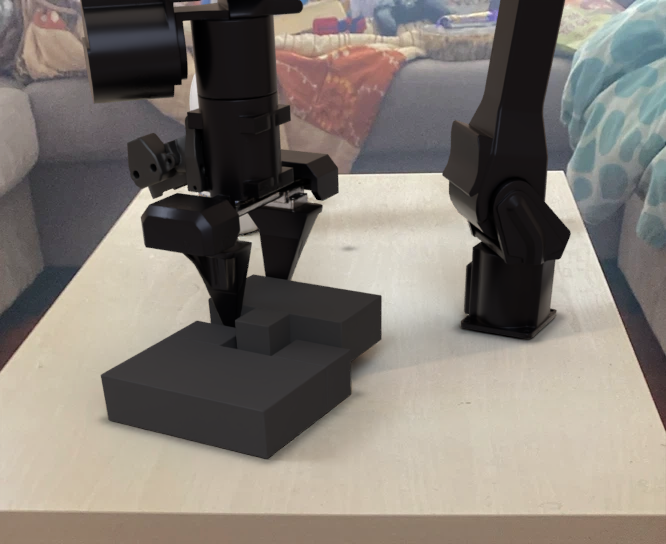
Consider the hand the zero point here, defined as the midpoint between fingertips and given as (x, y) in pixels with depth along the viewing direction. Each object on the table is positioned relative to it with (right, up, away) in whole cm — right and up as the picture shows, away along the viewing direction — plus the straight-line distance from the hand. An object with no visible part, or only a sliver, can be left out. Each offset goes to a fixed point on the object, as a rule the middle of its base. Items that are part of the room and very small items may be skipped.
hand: (254, 314), depth 84 cm
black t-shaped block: (+3, -3, -2) cm, 4 cm away
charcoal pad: (-1, -9, -6) cm, 11 cm away
